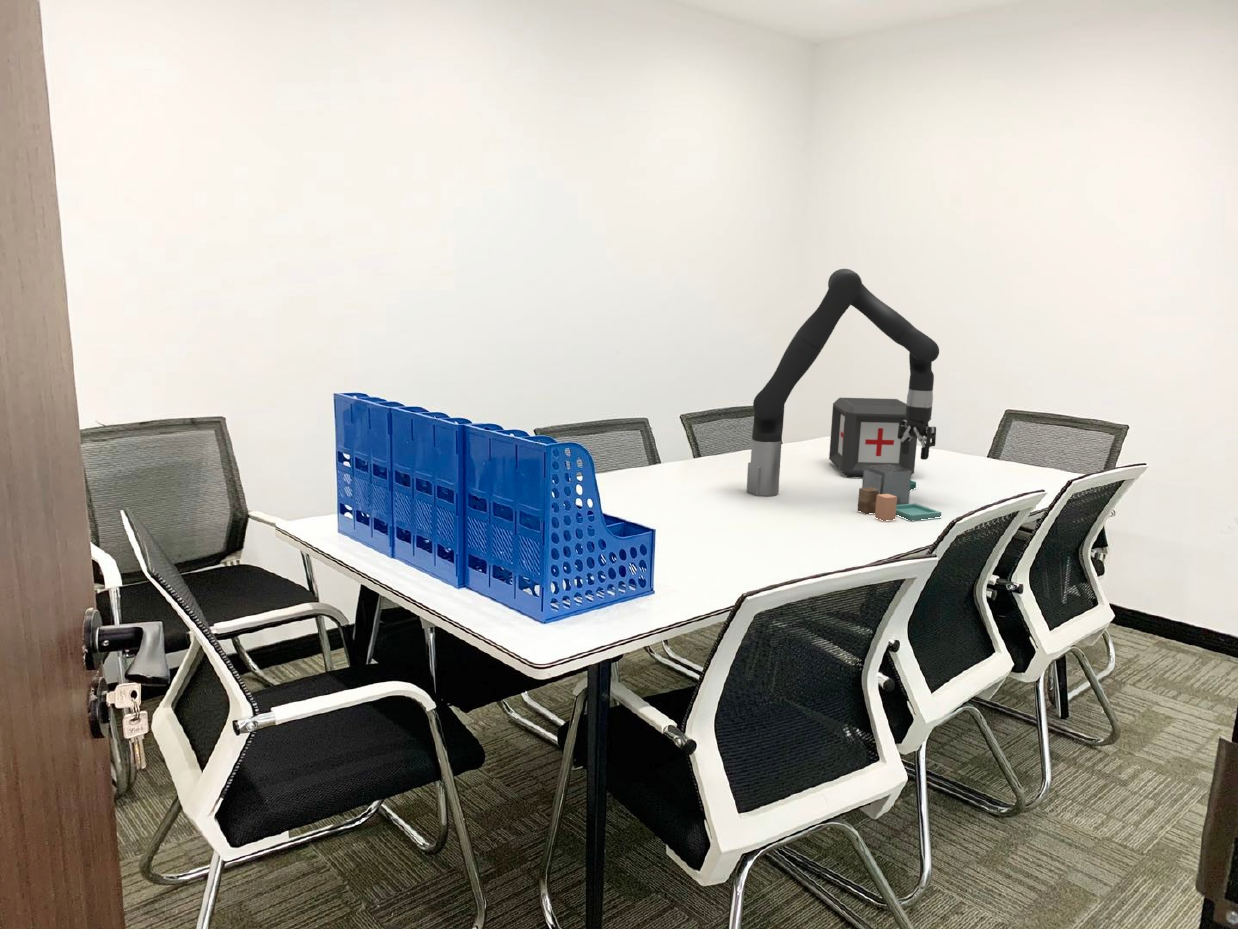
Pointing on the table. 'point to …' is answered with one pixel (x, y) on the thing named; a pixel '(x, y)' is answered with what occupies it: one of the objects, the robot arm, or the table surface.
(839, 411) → the first aid kit
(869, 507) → the walnut block
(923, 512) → the teal tray
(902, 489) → the grey unit
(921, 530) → the table surface
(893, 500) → the terracotta block
